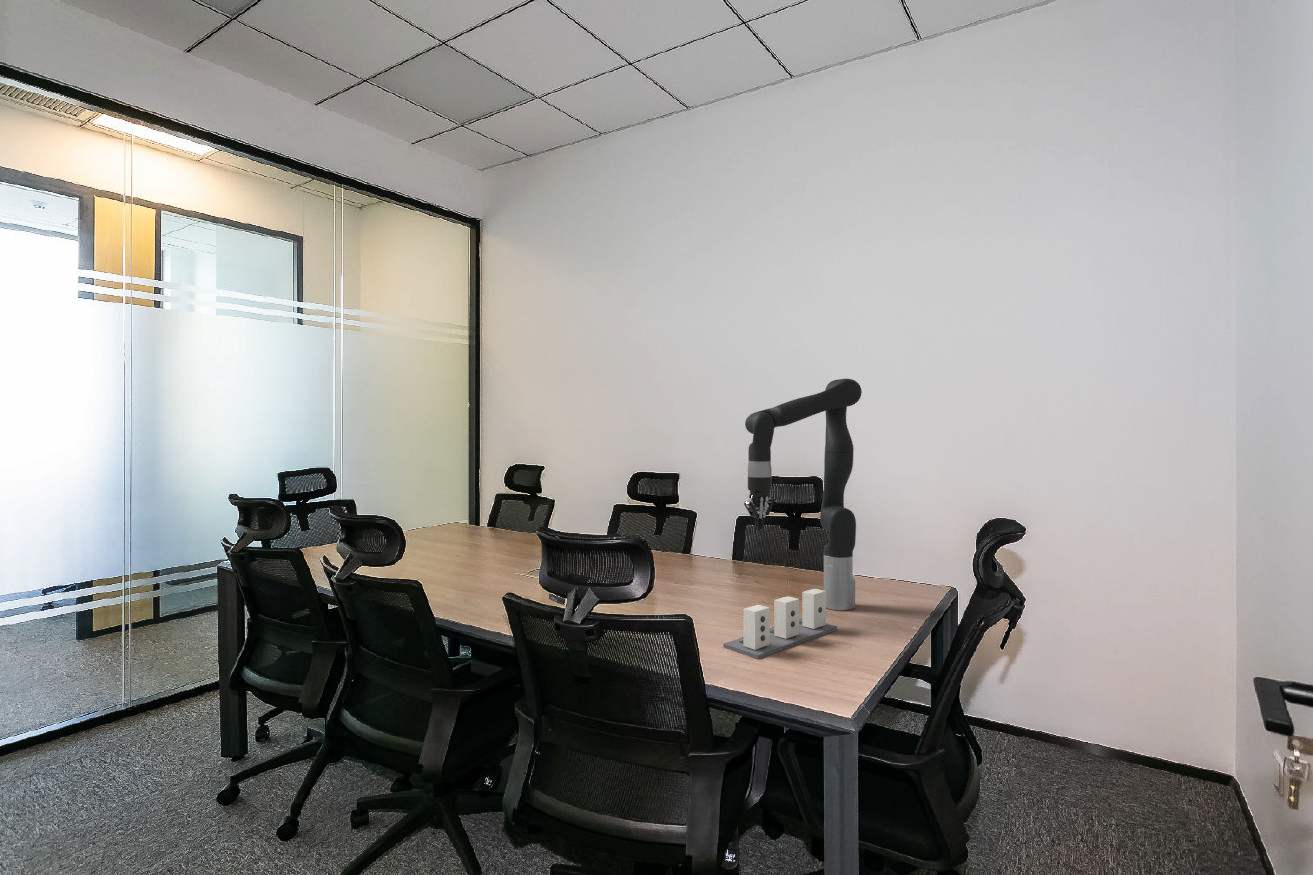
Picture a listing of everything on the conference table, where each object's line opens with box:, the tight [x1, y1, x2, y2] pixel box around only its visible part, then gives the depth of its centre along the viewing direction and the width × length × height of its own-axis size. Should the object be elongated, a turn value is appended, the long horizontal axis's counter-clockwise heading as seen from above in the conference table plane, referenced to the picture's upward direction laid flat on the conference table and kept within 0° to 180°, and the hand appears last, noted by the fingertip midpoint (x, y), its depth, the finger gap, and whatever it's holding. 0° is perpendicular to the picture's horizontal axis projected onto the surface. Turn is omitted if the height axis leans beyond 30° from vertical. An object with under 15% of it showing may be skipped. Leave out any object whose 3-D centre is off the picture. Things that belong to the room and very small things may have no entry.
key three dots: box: [742, 604, 771, 650], centre depth 175 cm, size 4×6×10 cm
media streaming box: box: [548, 593, 565, 606], centre depth 229 cm, size 15×15×3 cm
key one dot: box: [801, 588, 827, 629], centre depth 192 cm, size 4×6×10 cm
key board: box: [723, 617, 838, 660], centre depth 185 cm, size 12×36×1 cm, turn 131°
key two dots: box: [773, 595, 800, 639], centre depth 183 cm, size 4×6×10 cm
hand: (759, 529), depth 208 cm, fingers closed
